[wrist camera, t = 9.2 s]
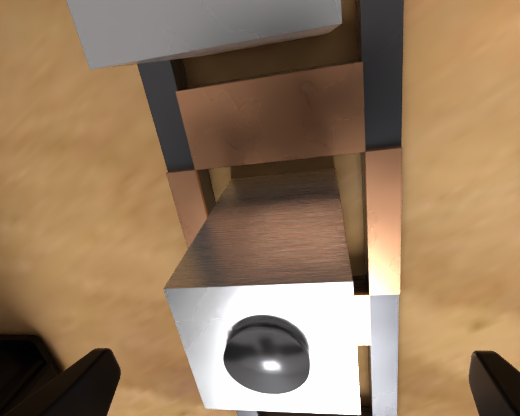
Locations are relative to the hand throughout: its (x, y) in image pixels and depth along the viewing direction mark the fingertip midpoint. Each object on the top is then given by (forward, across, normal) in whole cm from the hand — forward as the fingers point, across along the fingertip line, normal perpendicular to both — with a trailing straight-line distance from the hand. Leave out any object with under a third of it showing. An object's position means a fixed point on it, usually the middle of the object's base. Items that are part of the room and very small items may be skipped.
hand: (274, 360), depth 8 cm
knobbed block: (+8, 0, 0) cm, 8 cm away
